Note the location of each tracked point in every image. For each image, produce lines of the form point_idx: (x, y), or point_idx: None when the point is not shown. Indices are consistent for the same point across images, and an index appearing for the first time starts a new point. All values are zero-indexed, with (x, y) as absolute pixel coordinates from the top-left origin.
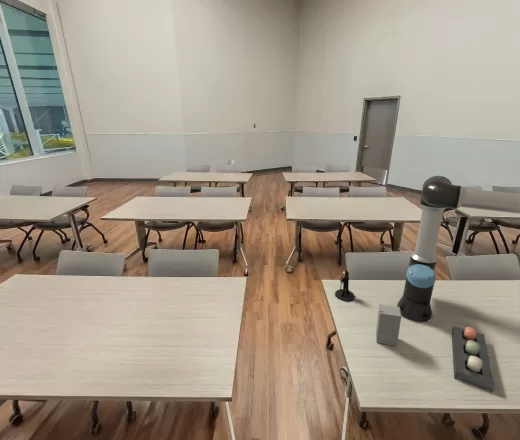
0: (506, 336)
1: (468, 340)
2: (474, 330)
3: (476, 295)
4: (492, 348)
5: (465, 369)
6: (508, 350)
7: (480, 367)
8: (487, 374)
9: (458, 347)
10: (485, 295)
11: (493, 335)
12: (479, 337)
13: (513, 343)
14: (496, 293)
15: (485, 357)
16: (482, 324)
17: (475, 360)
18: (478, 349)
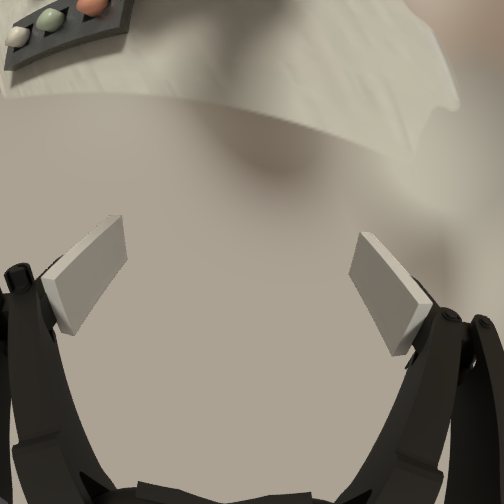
0: (173, 78)
1: None
2: (87, 5)
3: (379, 57)
4: (109, 52)
5: None
6: (116, 80)
7: (11, 46)
8: (15, 57)
9: (60, 4)
10: (390, 83)
11: (163, 51)
12: (103, 21)
13: (149, 90)
14: (413, 121)
15: (47, 44)
16: (206, 31)
17: (11, 36)
18: (41, 29)
